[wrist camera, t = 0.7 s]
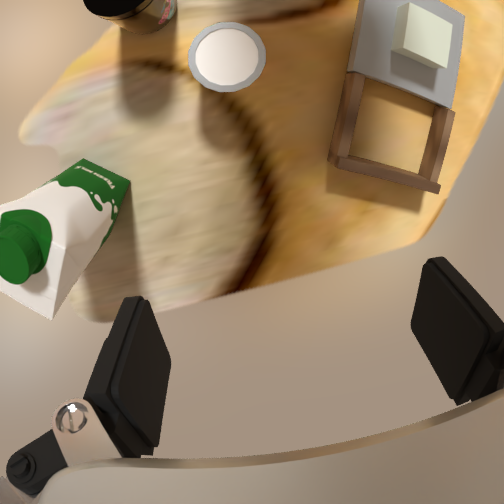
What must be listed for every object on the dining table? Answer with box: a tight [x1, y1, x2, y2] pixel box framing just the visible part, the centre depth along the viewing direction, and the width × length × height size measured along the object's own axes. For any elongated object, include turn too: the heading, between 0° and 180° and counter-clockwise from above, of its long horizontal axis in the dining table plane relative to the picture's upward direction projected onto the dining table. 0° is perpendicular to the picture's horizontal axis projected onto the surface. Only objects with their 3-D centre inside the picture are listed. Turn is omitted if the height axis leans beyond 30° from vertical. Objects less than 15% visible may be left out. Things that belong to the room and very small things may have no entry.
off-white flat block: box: [391, 2, 453, 69], centre depth 25 cm, size 6×6×3 cm
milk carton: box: [0, 159, 130, 320], centre depth 27 cm, size 9×9×20 cm
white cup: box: [188, 22, 266, 92], centre depth 27 cm, size 7×7×7 cm
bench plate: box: [347, 0, 465, 109], centre depth 27 cm, size 14×14×2 cm
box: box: [328, 73, 455, 194], centre depth 32 cm, size 11×14×4 cm
